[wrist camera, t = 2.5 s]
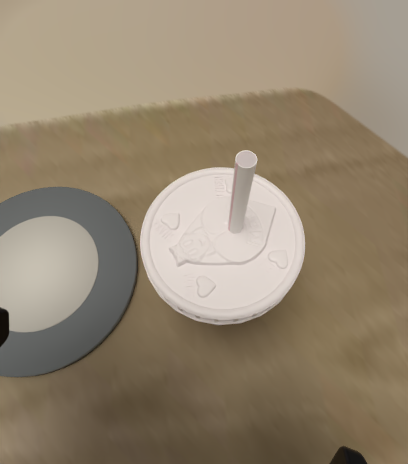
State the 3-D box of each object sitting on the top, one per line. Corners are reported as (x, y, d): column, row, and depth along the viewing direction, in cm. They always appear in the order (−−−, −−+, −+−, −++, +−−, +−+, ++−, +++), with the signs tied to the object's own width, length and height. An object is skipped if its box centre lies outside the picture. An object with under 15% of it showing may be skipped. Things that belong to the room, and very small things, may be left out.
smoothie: (285, 314, 20) (413, 216, 7) (195, 362, 19) (161, 348, 6) (236, 232, 22) (269, 50, 10) (154, 272, 21) (68, 126, 9)
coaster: (175, 287, 21) (174, 285, 20) (-9, 427, 18) (-17, 429, 17) (79, 162, 25) (76, 157, 25) (-82, 258, 22) (-91, 255, 22)
